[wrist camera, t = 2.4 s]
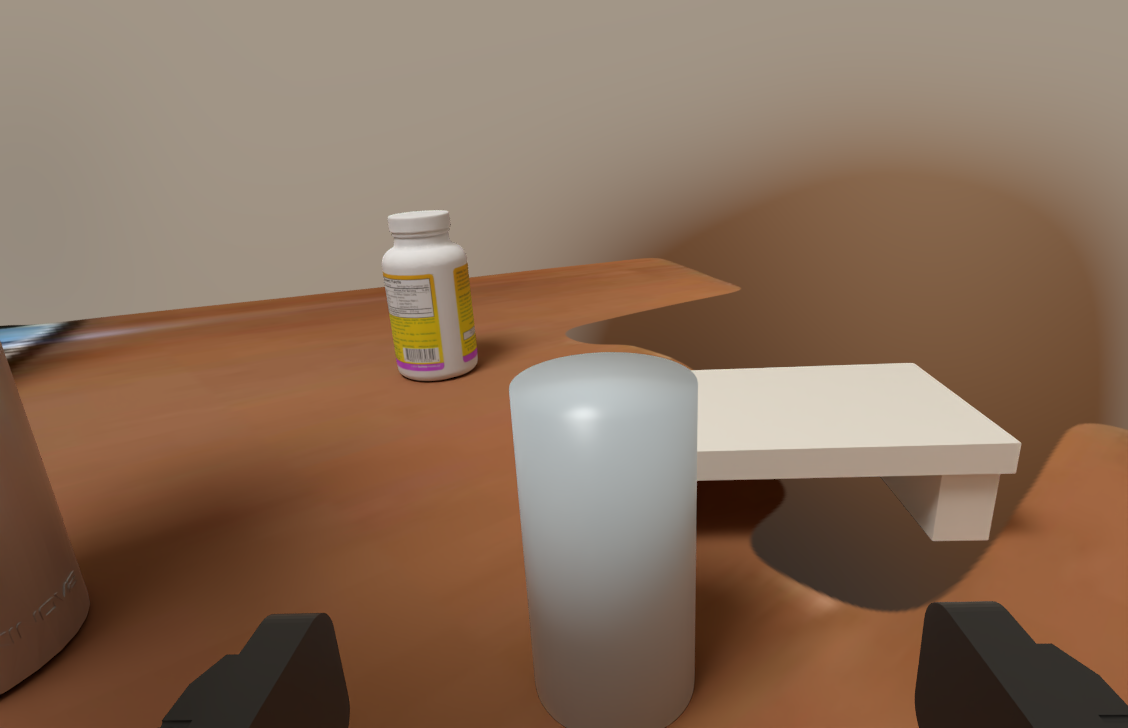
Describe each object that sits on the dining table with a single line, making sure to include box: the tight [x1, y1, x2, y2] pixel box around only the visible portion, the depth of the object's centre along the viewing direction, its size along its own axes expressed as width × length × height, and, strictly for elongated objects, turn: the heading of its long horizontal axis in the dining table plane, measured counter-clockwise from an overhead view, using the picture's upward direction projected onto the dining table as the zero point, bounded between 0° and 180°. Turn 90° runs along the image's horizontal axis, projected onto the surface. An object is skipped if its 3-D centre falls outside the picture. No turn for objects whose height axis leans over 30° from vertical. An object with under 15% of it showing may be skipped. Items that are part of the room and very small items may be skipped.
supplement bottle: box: [382, 210, 478, 381], centre depth 53 cm, size 7×7×13 cm
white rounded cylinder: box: [509, 352, 698, 728], centre depth 22 cm, size 6×6×11 cm
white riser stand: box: [691, 363, 1021, 541], centre depth 33 cm, size 18×10×5 cm, turn 87°
